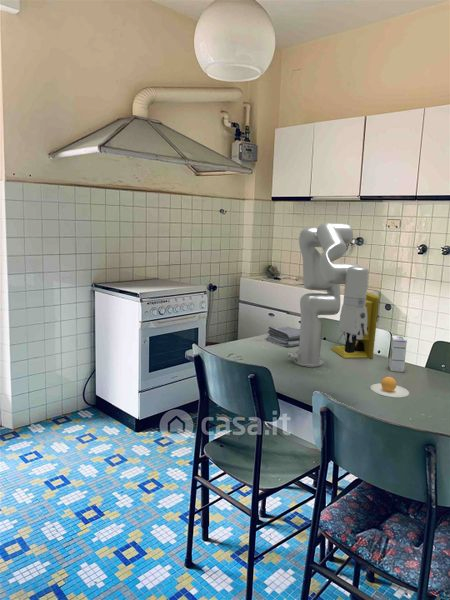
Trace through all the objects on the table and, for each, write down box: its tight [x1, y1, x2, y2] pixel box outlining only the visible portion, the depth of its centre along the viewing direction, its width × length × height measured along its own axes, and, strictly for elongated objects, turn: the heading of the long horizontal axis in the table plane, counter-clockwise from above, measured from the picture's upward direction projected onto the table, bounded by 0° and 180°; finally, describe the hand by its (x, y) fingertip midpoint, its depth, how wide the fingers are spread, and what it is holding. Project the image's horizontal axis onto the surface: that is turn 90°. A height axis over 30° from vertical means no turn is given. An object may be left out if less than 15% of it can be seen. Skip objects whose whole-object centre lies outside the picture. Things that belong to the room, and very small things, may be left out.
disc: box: [370, 382, 410, 399], centre depth 174 cm, size 14×14×1 cm
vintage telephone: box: [331, 291, 380, 360], centre depth 219 cm, size 31×14×30 cm, turn 9°
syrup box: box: [388, 335, 408, 373], centre depth 198 cm, size 6×6×14 cm
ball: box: [380, 376, 398, 391], centre depth 173 cm, size 6×6×6 cm
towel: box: [265, 325, 300, 348], centre depth 236 cm, size 15×18×8 cm
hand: (349, 352), depth 162 cm, fingers closed
